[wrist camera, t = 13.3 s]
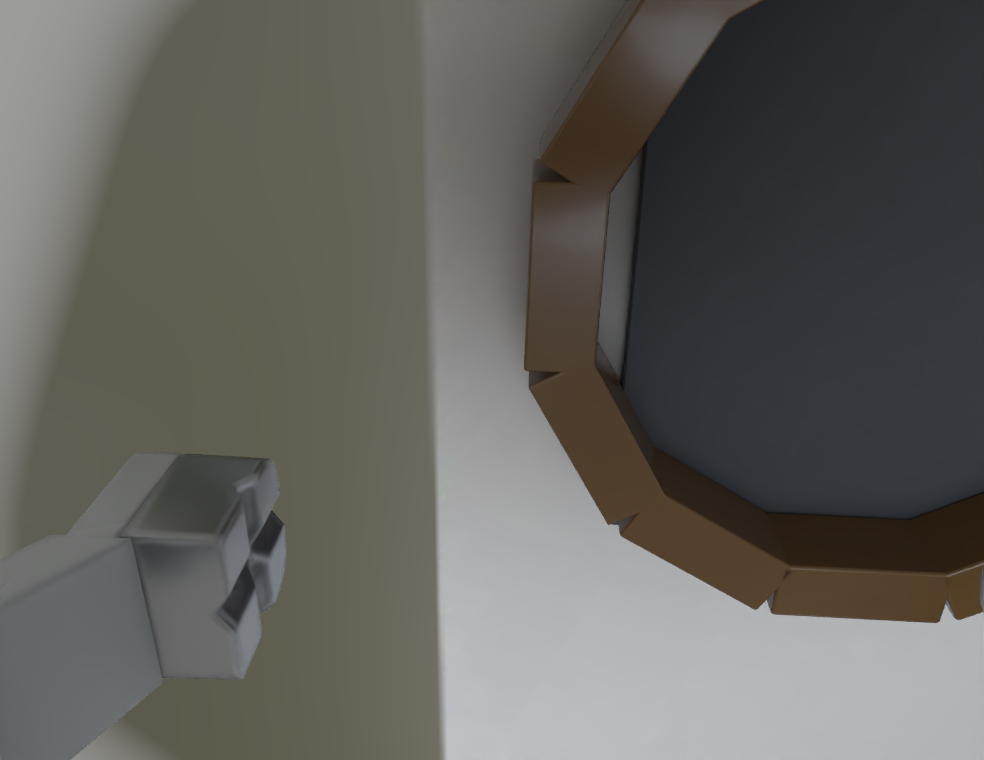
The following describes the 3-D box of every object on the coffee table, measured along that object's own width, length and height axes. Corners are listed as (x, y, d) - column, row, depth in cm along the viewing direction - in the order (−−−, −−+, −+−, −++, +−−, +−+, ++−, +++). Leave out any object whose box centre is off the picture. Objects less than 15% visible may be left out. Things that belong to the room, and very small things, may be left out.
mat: (670, -140, 17) (673, -142, 17) (1338, -132, 17) (1355, -134, 16) (609, 516, 24) (610, 525, 24) (1077, 536, 24) (1085, 545, 23)
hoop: (548, -188, 16) (550, -213, 14) (1487, -169, 16) (1636, -191, 14) (515, 545, 24) (513, 602, 22) (1145, 578, 24) (1207, 639, 21)
